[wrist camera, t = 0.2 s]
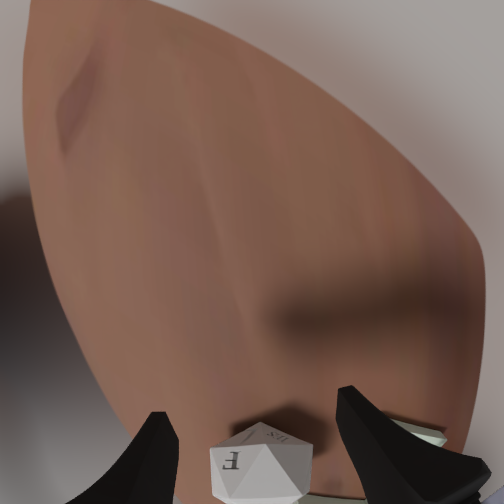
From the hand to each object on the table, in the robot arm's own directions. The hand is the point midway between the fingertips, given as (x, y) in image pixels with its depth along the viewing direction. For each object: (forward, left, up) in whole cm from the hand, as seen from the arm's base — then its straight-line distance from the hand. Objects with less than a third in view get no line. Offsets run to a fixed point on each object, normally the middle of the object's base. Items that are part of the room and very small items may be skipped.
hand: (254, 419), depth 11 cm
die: (-10, -7, -11) cm, 16 cm away
